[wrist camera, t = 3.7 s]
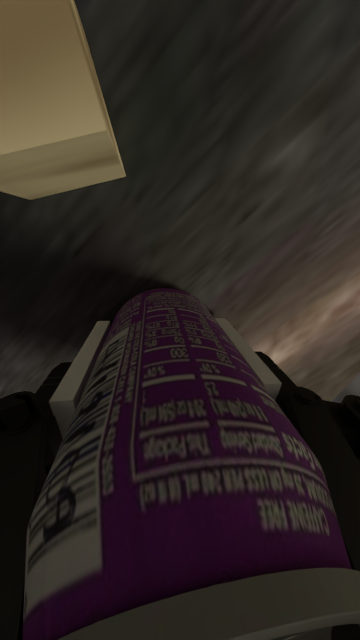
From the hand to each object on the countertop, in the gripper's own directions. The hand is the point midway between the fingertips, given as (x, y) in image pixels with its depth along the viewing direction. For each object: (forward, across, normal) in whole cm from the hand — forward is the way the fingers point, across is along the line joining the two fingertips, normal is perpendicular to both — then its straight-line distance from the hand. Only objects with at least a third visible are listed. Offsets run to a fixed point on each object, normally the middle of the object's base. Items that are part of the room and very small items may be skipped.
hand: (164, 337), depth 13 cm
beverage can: (+1, 0, 0) cm, 1 cm away
